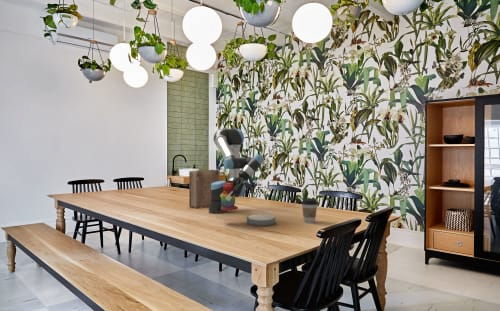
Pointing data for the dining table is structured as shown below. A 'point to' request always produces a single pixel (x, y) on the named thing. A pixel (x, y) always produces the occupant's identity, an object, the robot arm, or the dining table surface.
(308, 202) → the coffee cup
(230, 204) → the stacking bear
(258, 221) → the pedestal
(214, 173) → the book
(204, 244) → the dining table surface
